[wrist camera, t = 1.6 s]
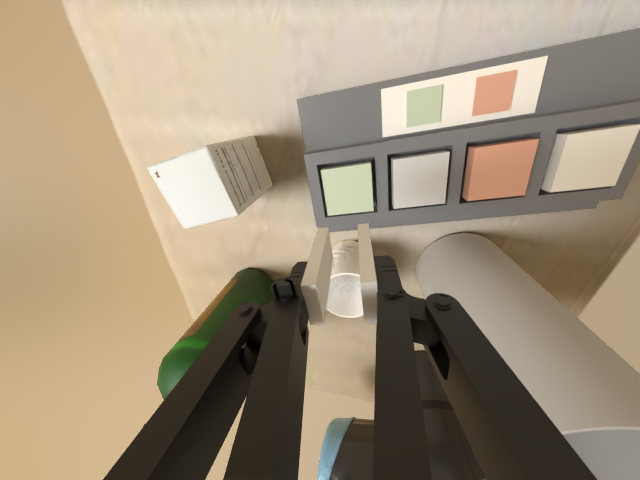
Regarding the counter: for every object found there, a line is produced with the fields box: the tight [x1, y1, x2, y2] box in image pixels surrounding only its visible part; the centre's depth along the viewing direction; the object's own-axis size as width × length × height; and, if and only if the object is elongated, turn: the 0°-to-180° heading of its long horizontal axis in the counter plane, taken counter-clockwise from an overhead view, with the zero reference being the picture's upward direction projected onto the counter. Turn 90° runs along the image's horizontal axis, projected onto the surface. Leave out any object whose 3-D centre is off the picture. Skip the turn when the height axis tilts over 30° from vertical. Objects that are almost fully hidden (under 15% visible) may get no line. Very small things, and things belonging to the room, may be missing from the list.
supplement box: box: [147, 136, 273, 229], centre depth 29 cm, size 7×7×13 cm
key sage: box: [321, 161, 374, 216], centre depth 29 cm, size 6×6×2 cm
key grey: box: [391, 150, 450, 209], centre depth 28 cm, size 6×6×2 cm
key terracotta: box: [462, 138, 539, 201], centre depth 26 cm, size 6×6×2 cm
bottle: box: [143, 269, 274, 427], centre depth 33 cm, size 11×11×28 cm
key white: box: [540, 124, 640, 192], centre depth 24 cm, size 6×6×2 cm
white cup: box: [326, 240, 363, 318], centre depth 35 cm, size 8×8×10 cm
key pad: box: [297, 28, 640, 232], centre depth 28 cm, size 18×36×4 cm, turn 99°
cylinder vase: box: [416, 233, 640, 480], centre depth 26 cm, size 12×12×25 cm
